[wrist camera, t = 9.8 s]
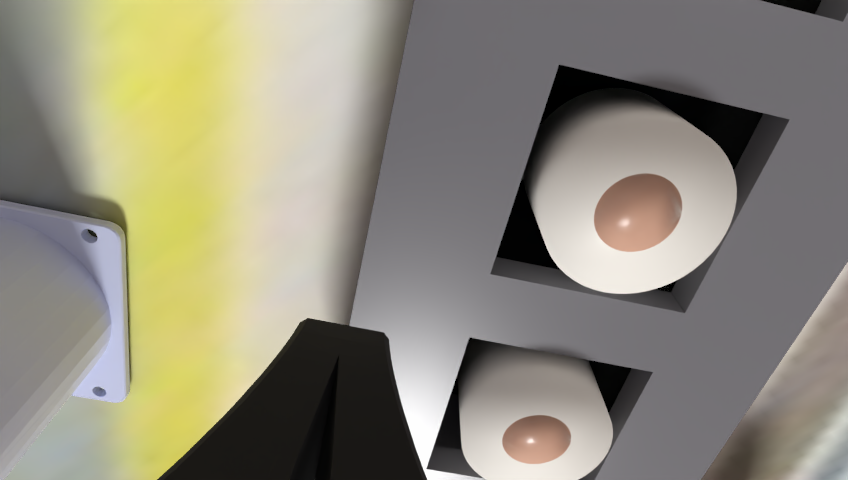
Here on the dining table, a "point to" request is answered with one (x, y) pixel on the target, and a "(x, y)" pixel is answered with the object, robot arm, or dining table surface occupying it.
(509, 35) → the mount
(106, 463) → the dining table surface
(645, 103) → the button middle
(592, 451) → the button
